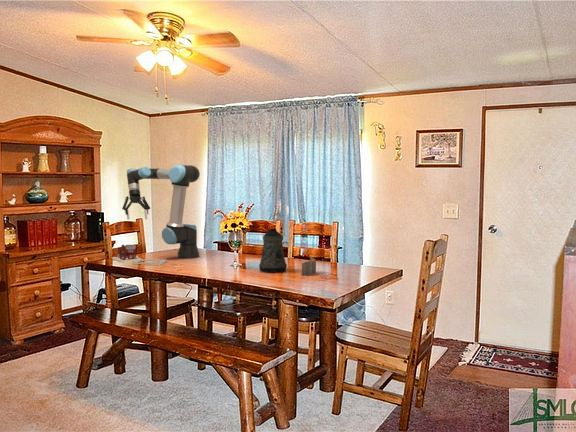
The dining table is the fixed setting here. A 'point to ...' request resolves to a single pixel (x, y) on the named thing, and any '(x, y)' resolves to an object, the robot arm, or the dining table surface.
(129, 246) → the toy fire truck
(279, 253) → the dark tapered vessel
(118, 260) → the cream bay
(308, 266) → the grey rectangular block
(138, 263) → the grey bay
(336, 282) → the dining table surface
